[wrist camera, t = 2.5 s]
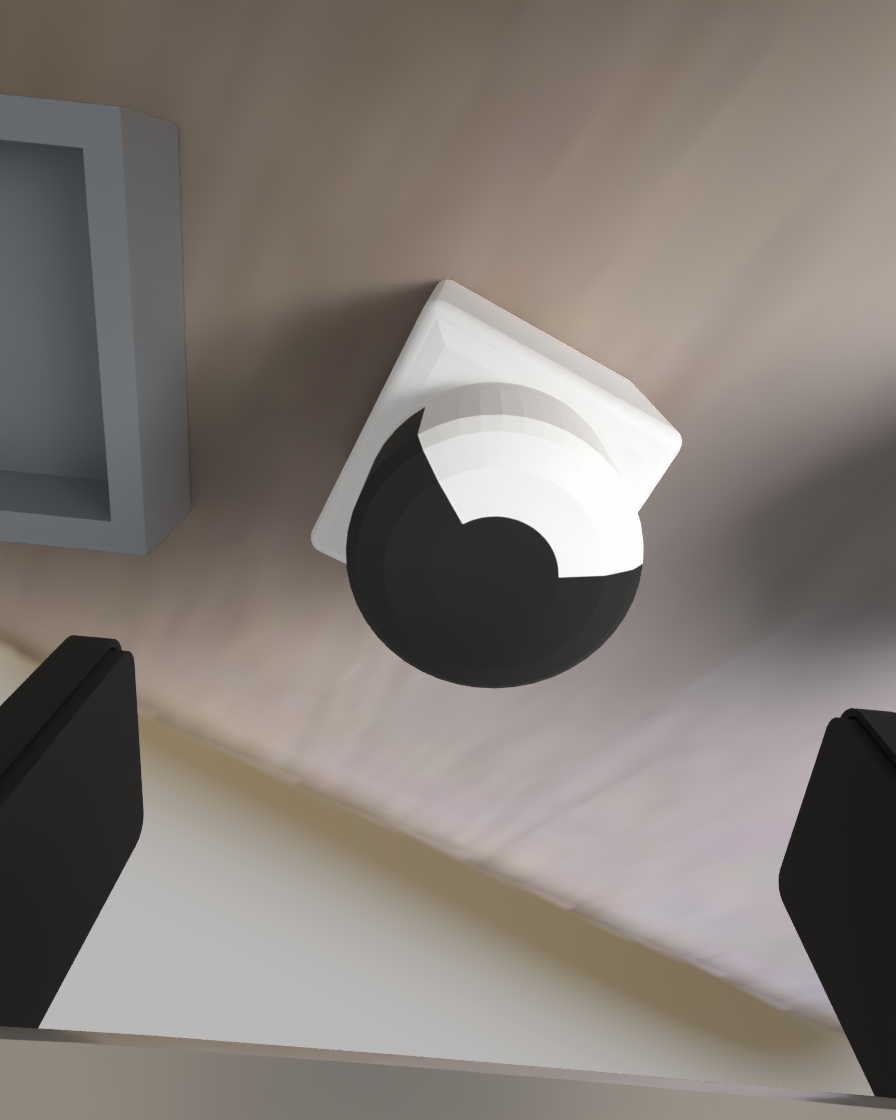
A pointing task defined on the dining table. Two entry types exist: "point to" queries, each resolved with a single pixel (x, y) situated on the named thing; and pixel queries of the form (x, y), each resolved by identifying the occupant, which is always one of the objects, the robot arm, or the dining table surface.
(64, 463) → the end holder
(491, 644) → the medicine bottle
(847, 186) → the dining table surface
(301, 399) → the dining table surface
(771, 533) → the dining table surface
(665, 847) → the dining table surface
